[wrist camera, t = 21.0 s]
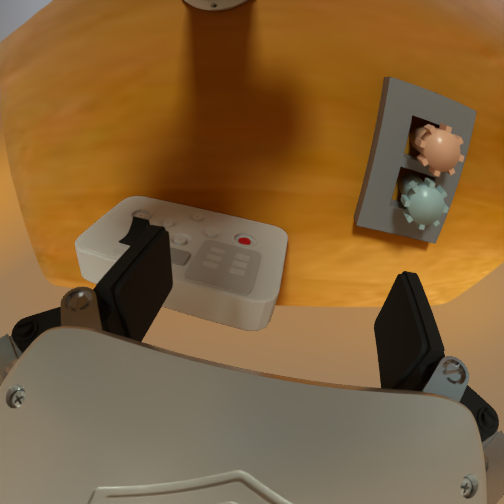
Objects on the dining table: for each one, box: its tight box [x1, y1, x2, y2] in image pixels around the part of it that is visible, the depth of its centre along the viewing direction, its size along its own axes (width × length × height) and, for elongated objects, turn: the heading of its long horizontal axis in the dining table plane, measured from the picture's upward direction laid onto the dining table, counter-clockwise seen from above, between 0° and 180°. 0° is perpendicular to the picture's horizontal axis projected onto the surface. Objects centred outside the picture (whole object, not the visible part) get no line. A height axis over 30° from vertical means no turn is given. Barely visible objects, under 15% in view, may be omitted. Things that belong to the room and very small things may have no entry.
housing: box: [354, 77, 476, 243], centre depth 35 cm, size 22×14×3 cm, turn 174°
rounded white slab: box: [75, 196, 288, 331], centre depth 41 cm, size 29×8×18 cm, turn 80°
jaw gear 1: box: [409, 123, 464, 177], centre depth 31 cm, size 7×7×8 cm
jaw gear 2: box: [398, 173, 449, 230], centre depth 35 cm, size 7×7×8 cm
